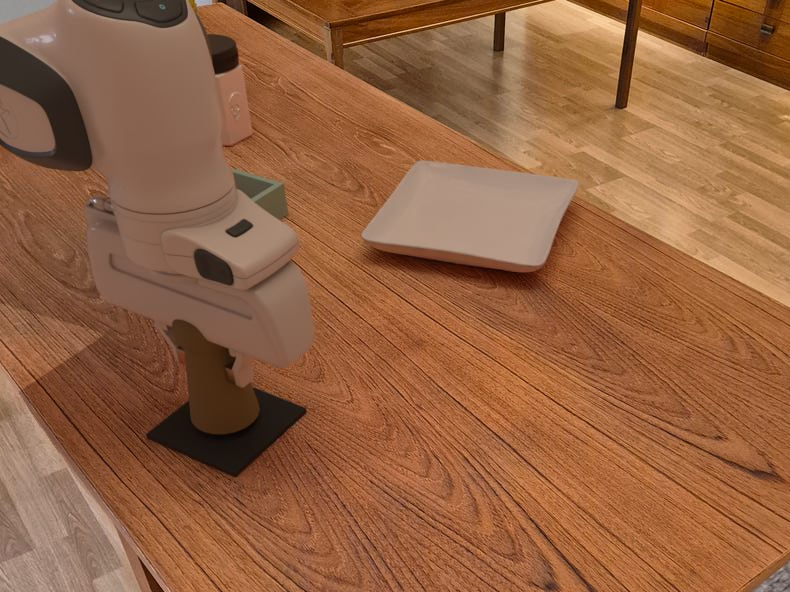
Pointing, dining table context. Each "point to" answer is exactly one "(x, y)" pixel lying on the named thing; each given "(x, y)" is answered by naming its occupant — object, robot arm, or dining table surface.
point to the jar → (230, 89)
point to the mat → (230, 448)
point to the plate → (472, 216)
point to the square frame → (263, 192)
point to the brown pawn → (213, 384)
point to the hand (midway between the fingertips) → (215, 371)
